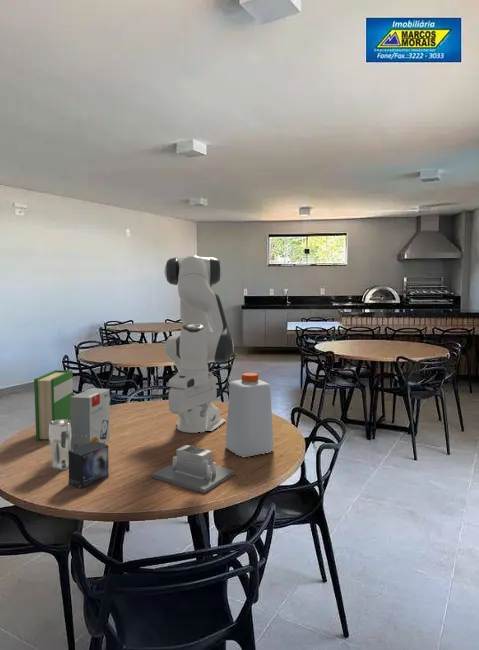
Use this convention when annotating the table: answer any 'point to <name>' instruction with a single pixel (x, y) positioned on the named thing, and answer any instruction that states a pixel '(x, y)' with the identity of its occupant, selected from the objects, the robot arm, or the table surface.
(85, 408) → the hard drive box
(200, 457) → the block
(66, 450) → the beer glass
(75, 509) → the table surface
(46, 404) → the hardback book
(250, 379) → the plastic bottle
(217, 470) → the tray
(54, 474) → the table surface
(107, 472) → the small box
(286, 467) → the table surface
